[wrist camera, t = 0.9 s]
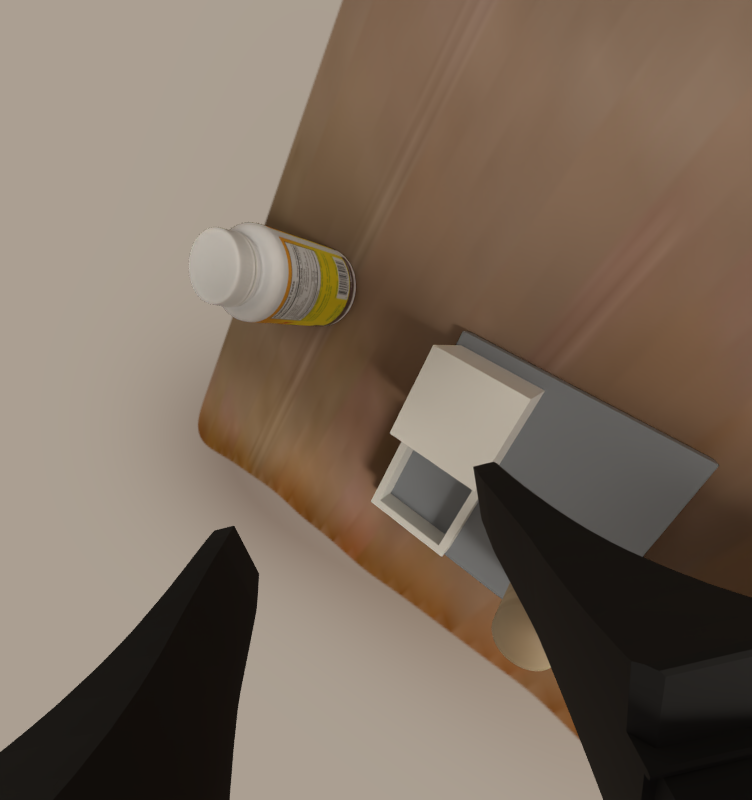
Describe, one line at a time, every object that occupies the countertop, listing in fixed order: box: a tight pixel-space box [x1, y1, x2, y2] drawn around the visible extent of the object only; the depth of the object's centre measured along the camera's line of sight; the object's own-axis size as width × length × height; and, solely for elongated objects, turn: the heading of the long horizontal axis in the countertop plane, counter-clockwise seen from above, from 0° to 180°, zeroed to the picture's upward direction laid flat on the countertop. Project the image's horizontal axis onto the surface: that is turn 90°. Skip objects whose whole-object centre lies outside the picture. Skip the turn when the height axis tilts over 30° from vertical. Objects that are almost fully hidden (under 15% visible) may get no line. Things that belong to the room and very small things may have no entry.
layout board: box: [371, 331, 719, 599], centre depth 24 cm, size 14×13×4 cm
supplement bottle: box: [189, 222, 356, 326], centre depth 26 cm, size 6×6×10 cm
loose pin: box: [492, 583, 551, 671], centre depth 21 cm, size 3×3×6 cm
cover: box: [390, 345, 545, 492], centre depth 23 cm, size 5×5×4 cm
